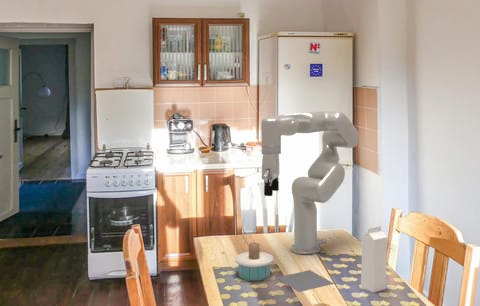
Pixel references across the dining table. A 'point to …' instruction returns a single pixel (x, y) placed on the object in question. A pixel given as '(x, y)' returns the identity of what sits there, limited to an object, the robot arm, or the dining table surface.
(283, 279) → the mat
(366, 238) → the milk
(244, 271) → the bowl
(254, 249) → the lid
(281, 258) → the dining table surface
